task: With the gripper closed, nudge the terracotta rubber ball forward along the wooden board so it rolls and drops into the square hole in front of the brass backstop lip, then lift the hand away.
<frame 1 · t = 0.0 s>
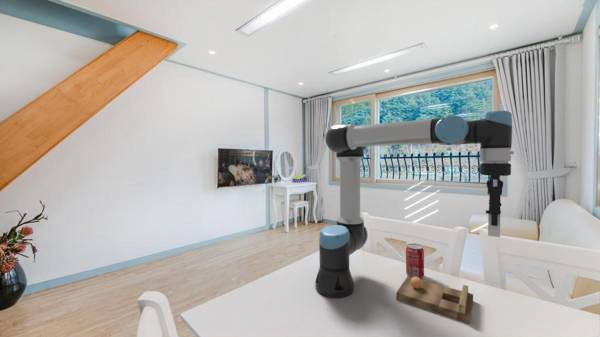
hand: (493, 230, 77), 28 cm above the table, fingers open, 13 cm apart
ball: (416, 282, 91), point 4 cm above the table, touching wooden board
soda can: (414, 276, 106), on the table
wooden board: (434, 300, 88), on the table
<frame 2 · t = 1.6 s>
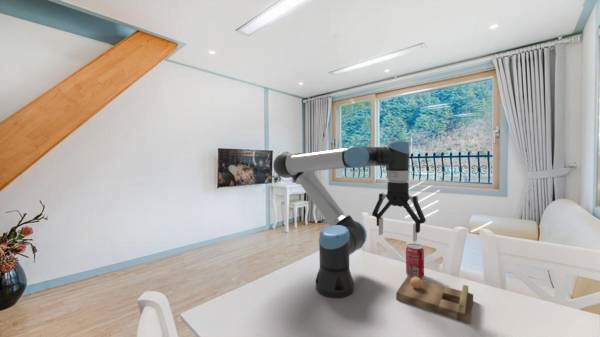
hand: (397, 237, 95), 20 cm above the table, fingers open, 12 cm apart
nothing on the table moved.
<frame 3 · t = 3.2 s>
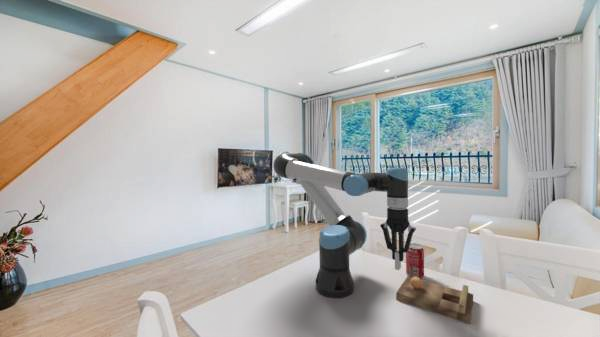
hand: (397, 268, 95), 8 cm above the table, fingers closed
nothing on the table moved.
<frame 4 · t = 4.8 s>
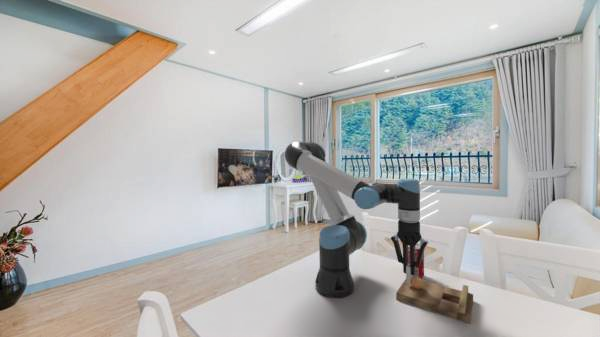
hand: (409, 282, 93), 4 cm above the table, fingers closed
nothing on the table moved.
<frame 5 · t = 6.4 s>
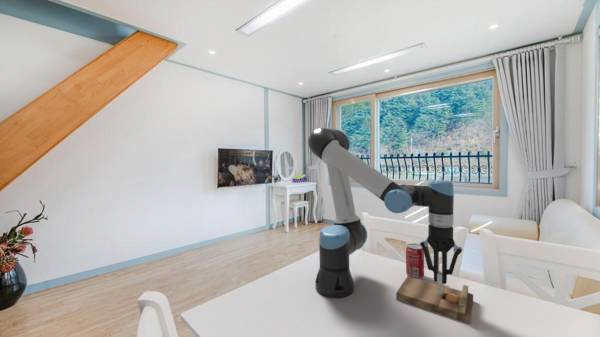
hand: (440, 291, 87), 4 cm above the table, fingers closed
ball: (452, 300, 84), point 2 cm above the table, tilted 31°
everything else where it was.
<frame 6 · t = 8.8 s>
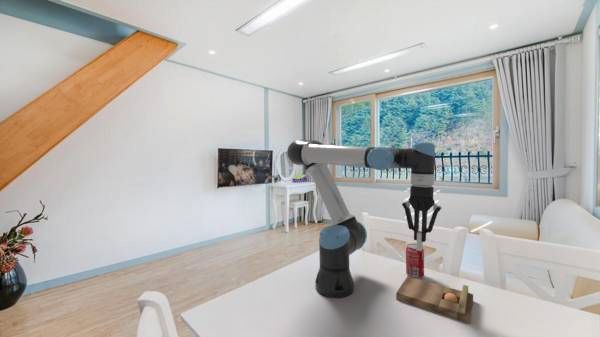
hand: (419, 249, 90), 17 cm above the table, fingers closed
ball: (450, 299, 85), point 2 cm above the table, tilted 18°
everything else where it was.
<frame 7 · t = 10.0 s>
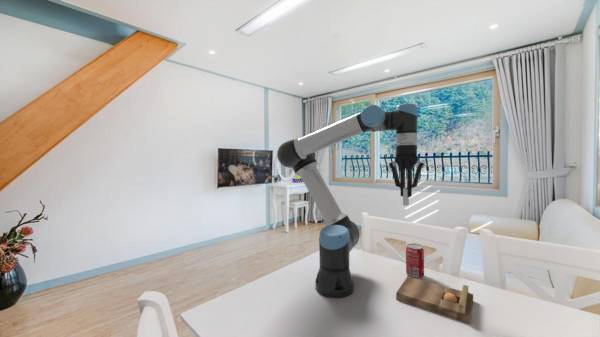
hand: (405, 204, 97), 32 cm above the table, fingers closed
ball: (450, 299, 85), point 2 cm above the table, tilted 12°
everything else where it was.
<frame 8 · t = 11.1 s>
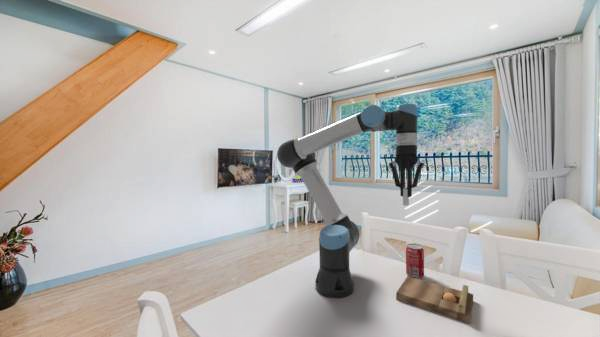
hand: (405, 204, 97), 32 cm above the table, fingers closed
ball: (449, 299, 85), point 2 cm above the table, tilted 6°
everything else where it was.
at the end: ball 0.5 cm from the target spot on the wooden board, point 2.0 cm above the wooden board's base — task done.
